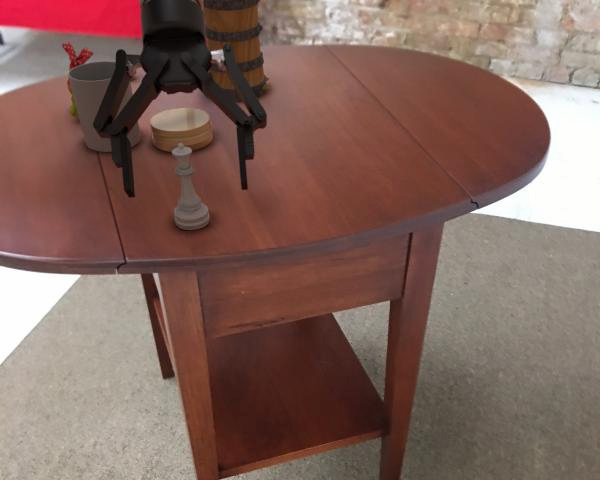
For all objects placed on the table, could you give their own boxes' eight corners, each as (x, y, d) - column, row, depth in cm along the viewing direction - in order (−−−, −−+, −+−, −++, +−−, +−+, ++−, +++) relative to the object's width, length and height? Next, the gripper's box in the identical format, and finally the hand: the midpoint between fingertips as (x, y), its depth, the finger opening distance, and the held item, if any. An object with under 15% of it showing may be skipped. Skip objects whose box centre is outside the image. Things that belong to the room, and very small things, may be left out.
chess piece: (208, 230, 78) (197, 151, 71) (172, 230, 79) (158, 151, 71) (211, 212, 82) (201, 135, 74) (177, 213, 82) (164, 135, 75)
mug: (285, 95, 110) (281, -43, 96) (192, 114, 105) (172, -29, 91) (256, 73, 118) (248, -57, 104) (168, 89, 113) (146, -45, 99)
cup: (119, 155, 94) (102, 84, 87) (74, 146, 97) (55, 76, 90) (151, 133, 99) (138, 65, 92) (108, 125, 102) (93, 58, 95)
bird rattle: (65, 126, 108) (76, 120, 100) (40, 53, 103) (49, 41, 95) (101, 118, 110) (113, 111, 102) (77, 47, 105) (89, 34, 98)
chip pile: (139, 143, 97) (135, 123, 95) (181, 122, 102) (178, 103, 100) (185, 158, 93) (182, 137, 91) (226, 135, 98) (224, 116, 96)
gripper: (276, 24, 80) (290, 193, 80) (75, 35, 78) (90, 206, 78) (277, -15, 72) (292, 171, 72) (55, -4, 71) (71, 186, 71)
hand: (187, 190), depth 75 cm, fingers open, 13 cm apart
